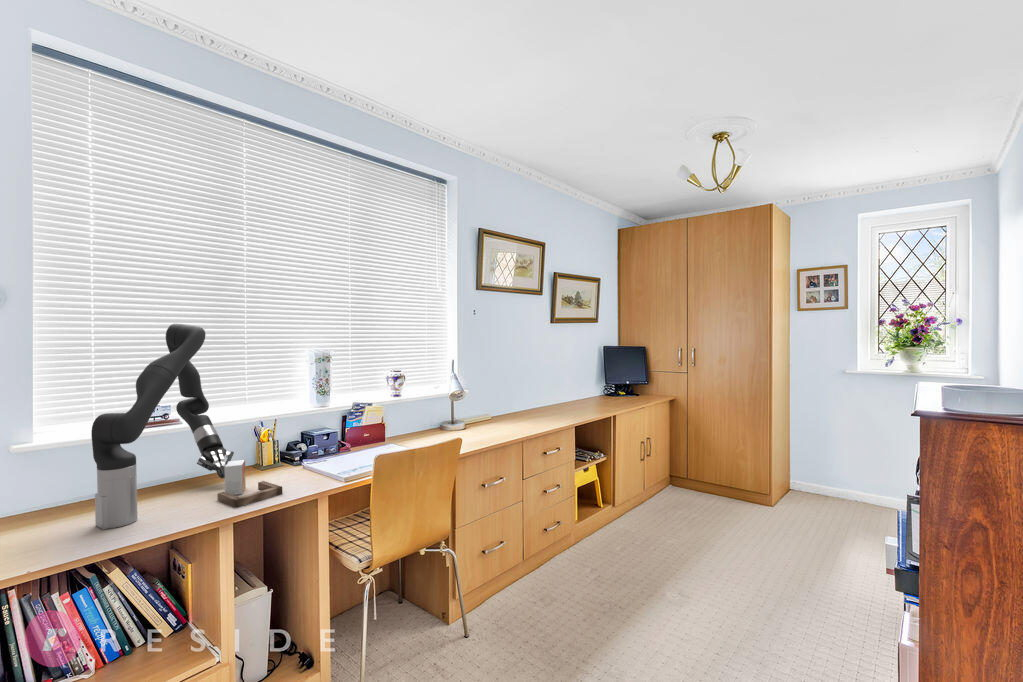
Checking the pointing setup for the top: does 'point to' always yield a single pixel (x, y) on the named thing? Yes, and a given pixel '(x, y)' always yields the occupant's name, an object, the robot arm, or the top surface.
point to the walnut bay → (251, 495)
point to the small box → (235, 477)
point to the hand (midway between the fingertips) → (224, 476)
